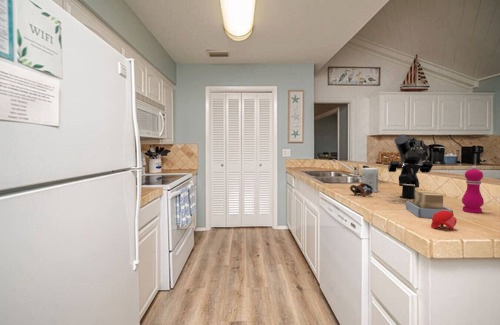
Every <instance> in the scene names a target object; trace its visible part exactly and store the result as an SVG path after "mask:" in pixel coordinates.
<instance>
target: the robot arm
mask: <svg viewBox="0 0 500 325" xmlns="http://www.w3.org/2000/svg"><path fill="white" fill-rule="evenodd" d="M394 144H395V146H396V150H398V154H399V158H400V161H399V160H397V161H395V160H393V161H392V160H391V161H390V162H389V163H388V167H387V170H388V172H389V173H395V172H397V169H398V170H401V171H400V174H399V176H398V185H399V187H401V188H402V189H401V190H402V191H401V195H399V197H400V198H403V199H404V198H405V199H409V200H410V199H411V200H412V199H413V200H414V199H415V190H416V189H417V188H420V181H419V178H418V175H417V174H418V172H421V173H423V174H425V173H427V174H428V173H430V172H431V171H432V168H433V166H434V164H433V162H432V161H427V159H428V158H429V157H430V148H429V146H427V144H426V143H425V142H424V140H423V139H417V138H416V137H415V136H408V137H407V136H406V134H400V135H399V136H397V137H396V138H394ZM400 163H401V164H400Z"/></svg>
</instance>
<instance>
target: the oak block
mask: <svg viewBox="0 0 500 325" xmlns="http://www.w3.org/2000/svg"><path fill="white" fill-rule="evenodd" d="M413 201H414V203H413V204H414V205H416V206H417V207H419V208H423V209H442V210H443V206H444V195H442V194H441V193H438V192H435V191H432V190H421V189H420V190H418V189H417V190H416V189H415V198H414V200H413Z"/></svg>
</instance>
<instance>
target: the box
mask: <svg viewBox="0 0 500 325" xmlns="http://www.w3.org/2000/svg"><path fill="white" fill-rule="evenodd" d="M405 210H408V211H409V212H410V213H411V214H413V215H415V216H416V217H417V218H422V219H423V218H425V219H426V218H427V219H432V218H433V216H434V214H436V213H438V212H440V211H444V210H446V211H450V212H452V213H453V214H454V210H453V209H451V208H449V207H446V206H444V205H443V210H442V209H423V208H419V207H417V206H416V205H414V203H412V202H410V201H408V200H406V201H405Z"/></svg>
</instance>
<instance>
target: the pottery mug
mask: <svg viewBox="0 0 500 325" xmlns="http://www.w3.org/2000/svg"><path fill="white" fill-rule="evenodd" d="M365 186H366V187H367V188H369V189H371V190H366V191H364V190H365V189H364V188H363V187H365ZM349 190H350V192H352V193H353V194H354V195H357V194H359V195H361V196H362V197H363V198H365V197H367V196H370V195H372V193H373V192H372V190H373V189H372V187H371V186H370V185H368V184H365V183H362V182H361V183H360V184H358V185H355V184H352V185H351V186H350V187H349Z"/></svg>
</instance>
